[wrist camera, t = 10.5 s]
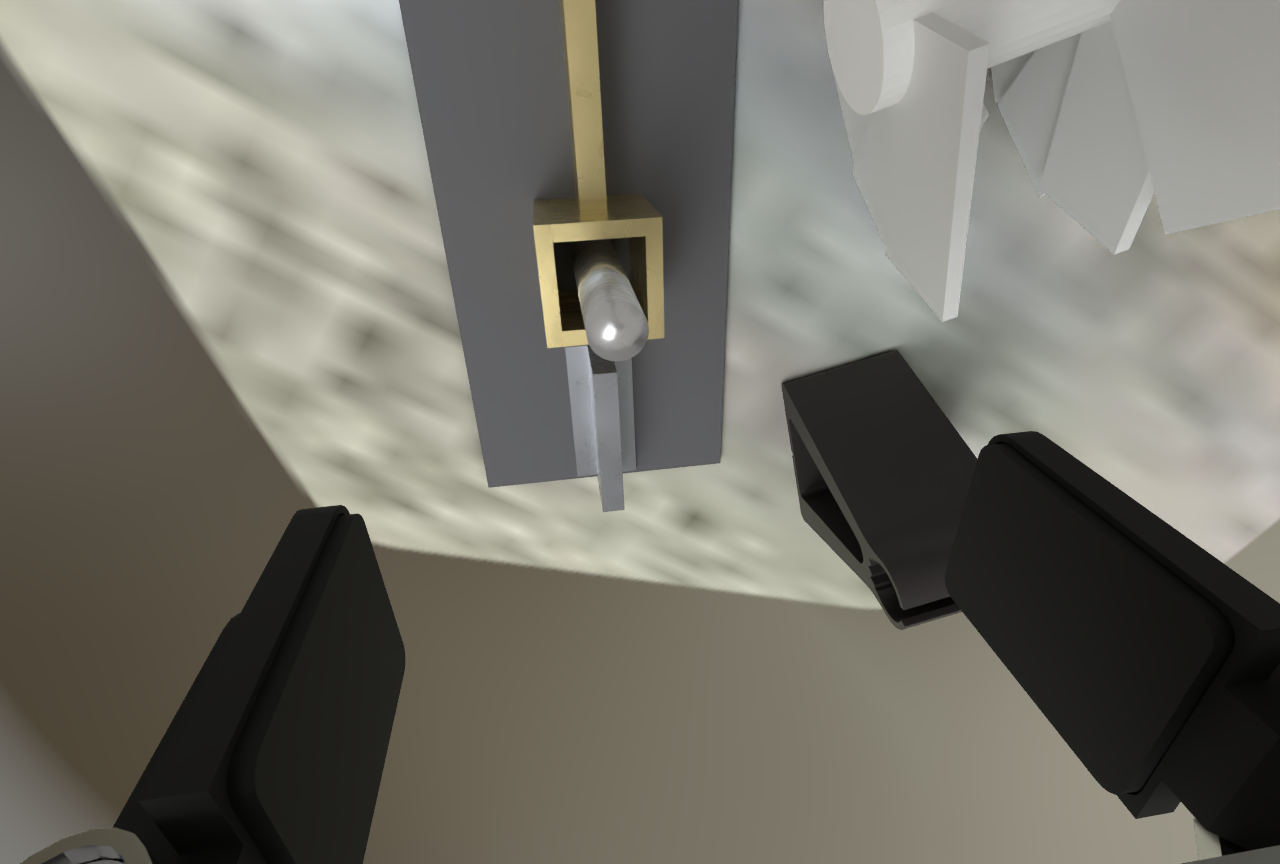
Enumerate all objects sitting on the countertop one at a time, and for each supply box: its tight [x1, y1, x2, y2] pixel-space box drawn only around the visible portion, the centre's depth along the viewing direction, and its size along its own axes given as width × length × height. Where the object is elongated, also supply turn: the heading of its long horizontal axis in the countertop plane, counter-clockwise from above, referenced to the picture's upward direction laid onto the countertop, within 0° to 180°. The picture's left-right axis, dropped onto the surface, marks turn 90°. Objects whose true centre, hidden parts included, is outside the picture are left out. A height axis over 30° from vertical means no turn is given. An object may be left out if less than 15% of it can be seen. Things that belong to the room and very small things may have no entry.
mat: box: [399, 0, 738, 487], centre depth 27 cm, size 21×12×1 cm, turn 2°
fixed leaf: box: [565, 239, 649, 512], centre depth 25 cm, size 12×3×10 cm, turn 2°
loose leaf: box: [533, 0, 664, 348], centre depth 22 cm, size 12×4×5 cm, turn 2°
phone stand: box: [782, 350, 978, 630], centre depth 29 cm, size 9×6×12 cm, turn 14°
